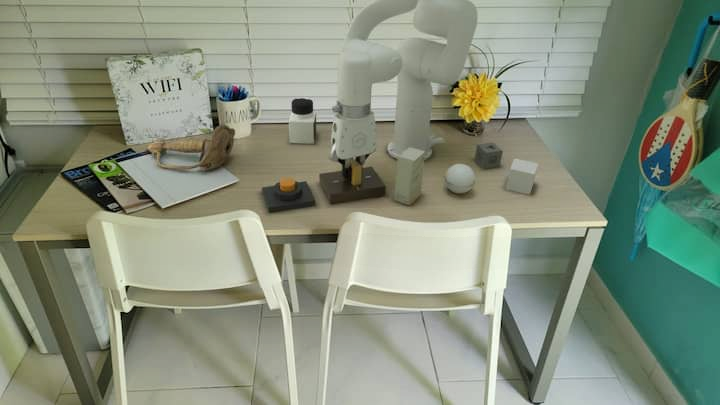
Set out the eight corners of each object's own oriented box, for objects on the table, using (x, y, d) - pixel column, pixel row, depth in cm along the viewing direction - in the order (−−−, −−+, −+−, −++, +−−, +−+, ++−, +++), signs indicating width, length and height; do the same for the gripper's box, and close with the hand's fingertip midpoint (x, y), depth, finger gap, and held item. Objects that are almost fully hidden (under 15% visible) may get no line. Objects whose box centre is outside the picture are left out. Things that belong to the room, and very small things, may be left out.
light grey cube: (529, 195, 128) (534, 174, 125) (505, 189, 130) (510, 168, 127) (533, 183, 133) (538, 163, 129) (510, 178, 135) (514, 158, 131)
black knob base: (306, 186, 128) (306, 174, 126) (315, 206, 121) (315, 193, 119) (262, 193, 125) (261, 180, 123) (268, 213, 118) (267, 200, 116)
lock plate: (371, 176, 133) (372, 165, 131) (385, 196, 125) (386, 185, 123) (319, 183, 129) (319, 173, 127) (330, 205, 121) (330, 193, 120)
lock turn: (361, 183, 124) (361, 164, 121) (353, 185, 123) (354, 166, 120) (350, 173, 128) (350, 155, 125) (343, 175, 127) (343, 156, 124)
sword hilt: (211, 159, 125) (232, 115, 133) (120, 146, 128) (146, 104, 137) (221, 184, 133) (241, 141, 141) (136, 171, 137) (160, 130, 145)
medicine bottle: (314, 144, 147) (313, 105, 141) (289, 143, 147) (287, 104, 140) (316, 133, 153) (315, 95, 146) (292, 132, 153) (291, 94, 146)
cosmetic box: (409, 206, 122) (414, 161, 115) (393, 200, 124) (396, 156, 117) (421, 194, 126) (426, 151, 120) (405, 189, 128) (409, 145, 122)
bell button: (293, 183, 123) (293, 177, 122) (296, 191, 120) (296, 184, 119) (278, 185, 122) (278, 179, 121) (281, 193, 119) (281, 187, 118)
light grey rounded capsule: (440, 183, 131) (444, 158, 127) (469, 183, 131) (473, 158, 127) (447, 205, 123) (451, 178, 119) (477, 205, 123) (482, 179, 119)
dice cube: (499, 166, 140) (502, 150, 137) (483, 169, 138) (486, 152, 135) (490, 158, 143) (493, 142, 141) (474, 160, 142) (477, 144, 139)
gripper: (329, 120, 109) (329, 193, 119) (392, 108, 116) (387, 178, 126) (314, 107, 115) (316, 178, 125) (376, 96, 121) (372, 164, 131)
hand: (352, 177), depth 125 cm, fingers closed on lock turn, 2 cm apart
